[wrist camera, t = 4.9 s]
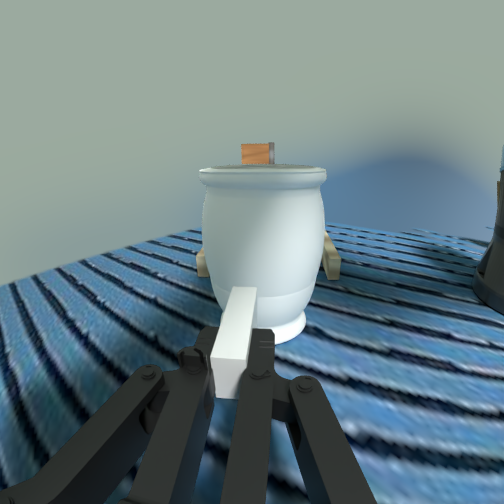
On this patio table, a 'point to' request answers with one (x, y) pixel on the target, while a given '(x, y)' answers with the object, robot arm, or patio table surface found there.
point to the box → (330, 254)
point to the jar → (265, 238)
